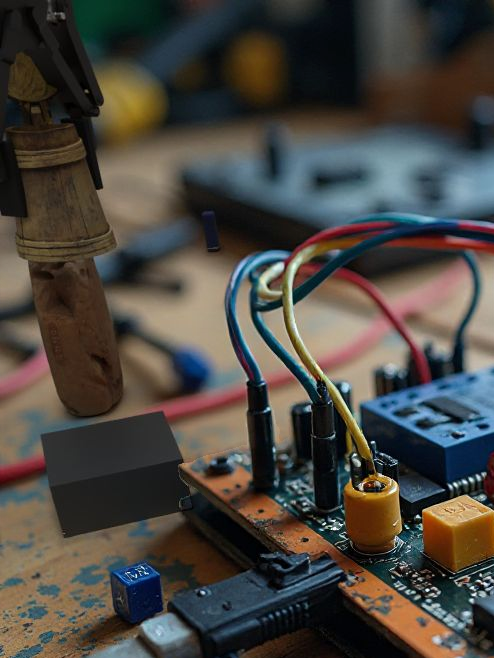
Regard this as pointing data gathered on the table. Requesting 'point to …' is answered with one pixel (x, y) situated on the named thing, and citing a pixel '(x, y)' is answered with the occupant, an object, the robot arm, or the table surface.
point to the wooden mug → (53, 178)
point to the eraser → (210, 230)
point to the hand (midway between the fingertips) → (54, 201)
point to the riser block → (113, 472)
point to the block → (77, 334)
